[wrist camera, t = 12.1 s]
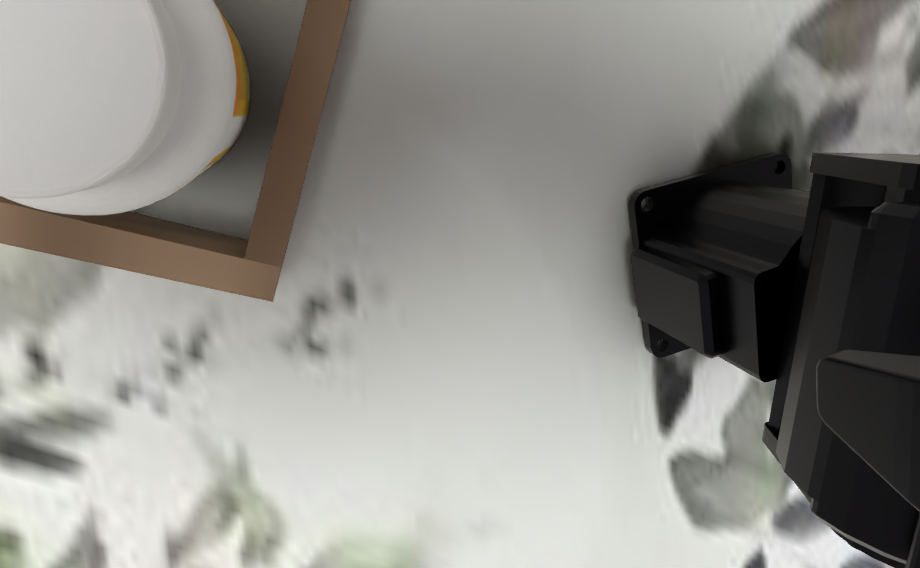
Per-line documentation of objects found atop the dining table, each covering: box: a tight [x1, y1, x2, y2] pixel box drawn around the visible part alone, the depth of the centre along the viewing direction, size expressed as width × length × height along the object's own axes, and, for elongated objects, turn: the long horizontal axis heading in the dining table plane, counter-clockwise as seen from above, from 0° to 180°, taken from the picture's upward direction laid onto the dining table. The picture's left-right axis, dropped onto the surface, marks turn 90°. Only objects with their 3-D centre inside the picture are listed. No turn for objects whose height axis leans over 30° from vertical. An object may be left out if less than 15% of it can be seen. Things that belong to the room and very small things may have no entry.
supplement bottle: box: [0, 0, 251, 215], centre depth 13 cm, size 5×5×10 cm
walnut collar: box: [0, 0, 351, 302], centre depth 16 cm, size 10×10×2 cm
